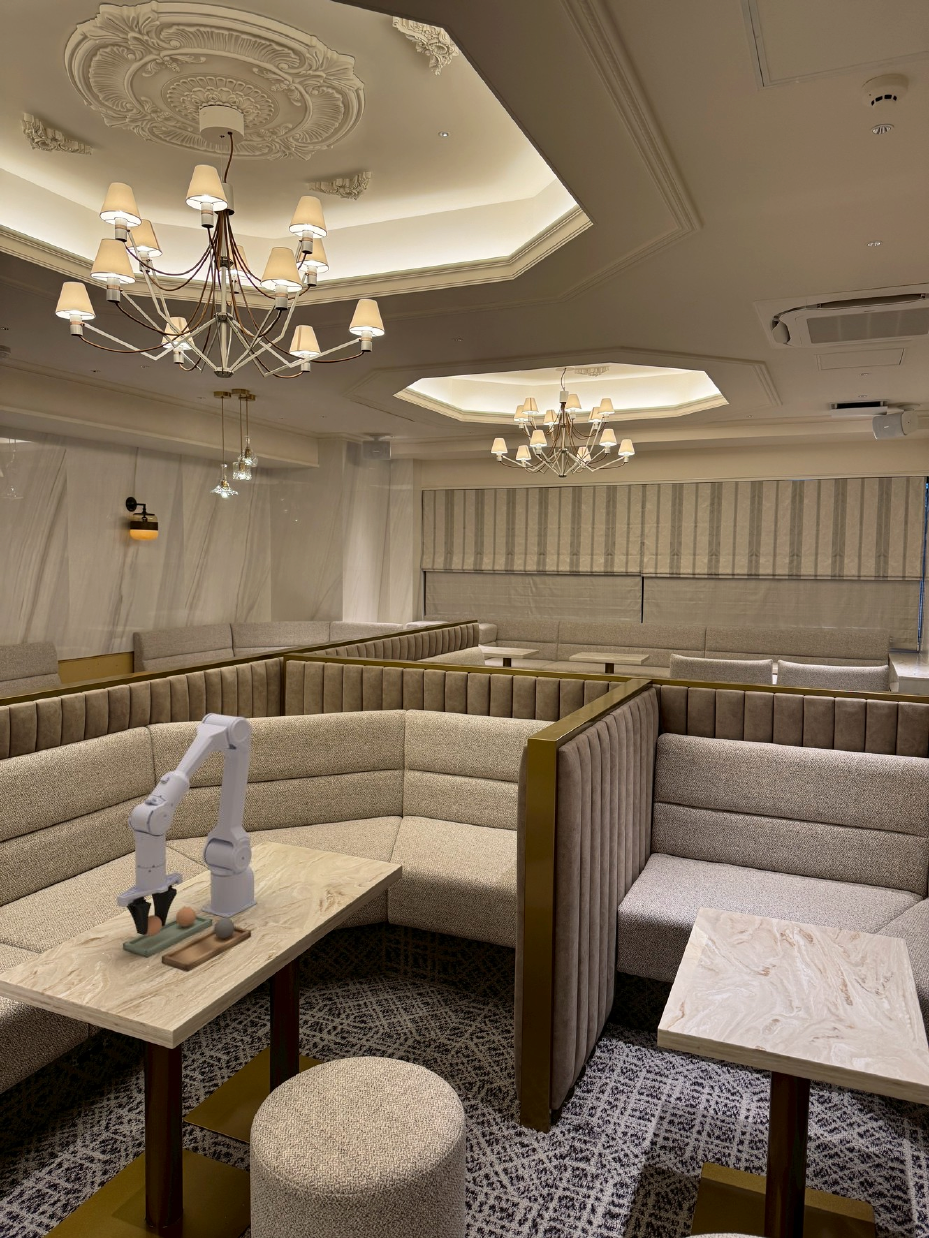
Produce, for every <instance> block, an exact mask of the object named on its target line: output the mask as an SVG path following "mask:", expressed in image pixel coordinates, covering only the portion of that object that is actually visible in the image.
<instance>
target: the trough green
mask: <svg viewBox="0 0 929 1238" xmlns="http://www.w3.org/2000/svg"><path fill="white" fill-rule="evenodd" d="M210 926H213V919H212V918H209V917H205V916H201V915H199V914H196V919H195V921H194V923H193V924H192V925H190V926H188V927H182V926H180V925H179V924H178V923H177V921H176V918H174V919H172V920H169V921H166V923H165V926H162V927H161V930H160V931H159V933H158V934H156V935H154V936H146V935H142V934H139V935H138V936H136V937H133V938H131V939H130V940H129V939H128V940H127V941H125V942H123V943H122V950H124V951H127V952H130V953H134V954H136V955H139V956H141V957H145V958H150V957H151V956H154V955H155V954H157V953H159V952H161V951H163V950H165V949H167V948H169V947H171V946H173V945H175V944H177V943H179V942H181V941H184V940H185V939H187V938H189V937H191V936H192V935H195V934H197V933H199V932H201V931H203V930H205V929H207V928H209V927H210Z"/></svg>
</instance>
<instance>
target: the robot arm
mask: <svg viewBox="0 0 929 1238" xmlns="http://www.w3.org/2000/svg"><path fill="white" fill-rule="evenodd" d="M252 731H253V726H252V725H251V723H250V722H249V721H248V720H247V719H246V717H244V716H232V715H226V714H225V715H224V714H218V713H214V712H210V713H208V714H205V716H204V717H203V718H202V720H201V722H200V723H199V724H198V725H197V726H196V737H195V738H194V740H193V741H192V743H191V744H190V746H189V747H188V750H187V751H186V752H185V754H184V755H183V756H182V758H181V760H180V762H179V763H178V765H177V767H176V768H175V770H173V771H168V772H166V773H165V774H164V775H162V776H161V778H160V779H159V782H158V784H157V785H156V786H155V787H154V789H153V790H152V792H151V793H150V794H149V796H148V797H147V798H146V800H145V801H144V802H141V803H140V804H138V805H137V806H135V807H134V808H133V809H132V811H131V812H130V817H129V818H128V819H127V824H128V827H129V828H130V830H131V831H132V832H133V834H132V835H133V839H134V841H135V842H134V850H135V853H134V855H135V856H134V857H135V862H134V863H135V868H134V869H135V885H133V886H131V887H130V888H129V889H127V890H125V891H124V892H122V893H120V894H118V895H117V896H116V905H117V906H118V907H122V908H126V909H127V910H128V911H129V913H130V915H131V917H132V920H133V922H134V925H135V929H136V933H137V934H138V935H145V934H147V930H148V916H150V914H149V913H150V910H151V908H152V907H151V906H152V904H153V908H154V909H153V910H154V913H153V914H154V916H157V917H159V918H160V920H161V922H162V926H165V923H167V919H168V914H169V911H170V908H171V906H172V904H173V902H174V899H175V898H176V896H177V894H178V893H177V891H178V889H177V888H174V887H173V886H174V885H181V884H182V883H183V873H180V872H173V873H169V874H167V865H166V864H167V858H166V857H167V856H166V855H167V852H166V851H167V849H166V847H167V840H166V837H167V835H166V834H167V833H166V832H167V831H169V829H170V828H171V827H172V824H173V820H174V819H173V818H174V814H175V813H176V812H175V811H176V808H177V807H178V806H179V804H180V802H181V801H182V800H183V798H184V796H185V795H187V793H188V791H189V789H190V786H191V785H190V779H191V778H192V777H193V775H194V774H195V773H196V772H197V771H198V770H199V768H200V767H201V765H203V764H204V762H205V761H206V760H207V759H208V757H209V756H210V755H211V754H212V753H213V752H217V751H220V752H221V753H222V755H224V764H223V765H224V766H223V773H222V781H221V789H220V797H219V807H218V808H219V809H218V815H217V816H218V817H217V824H216V826H215V827H214V828H213V829H212V830H210V831H209V832H208V833H207V840H206V842H205V845H204V847H203V850H202V860H203V863H204V864H205V865H207V869H208V871H210V904H209V905H207V906H205V907H202V909H201V911H202V912H205V913H208V914H211V915H215V916H218V917H222V918H229V919H230V918H231V917H233V916H236V915H238V914H239V913H241V912H243V911H245V910H247V909H249V908H252V907H253V906H255V905H256V904H258V901H257V900H255V875H254V871H253V869H252V867H251V866H250V864H251V860H252V855H253V854H252V847H251V836H250V835H249V834H248V832H247V831H246V830H245V829H244V827H243V821H244V812H245V804H246V797H247V796H246V795H247V789H248V787H247V786H248V778H249V768H250V763H251V762H250V761H251V754H252V753H251V752H252V745H251V743H252ZM148 896H151V897H152V901H153V903H152V902H149V901H147V899H145V898H147V897H148Z"/></svg>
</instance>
